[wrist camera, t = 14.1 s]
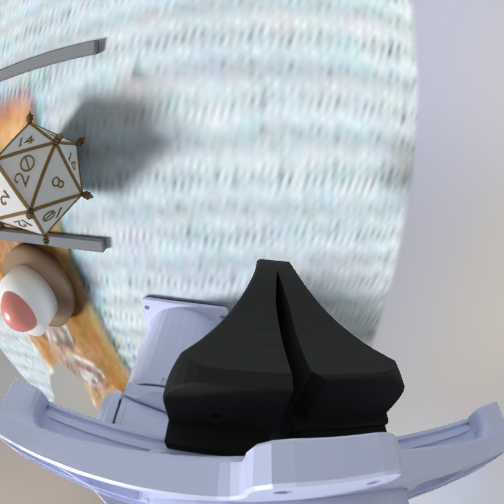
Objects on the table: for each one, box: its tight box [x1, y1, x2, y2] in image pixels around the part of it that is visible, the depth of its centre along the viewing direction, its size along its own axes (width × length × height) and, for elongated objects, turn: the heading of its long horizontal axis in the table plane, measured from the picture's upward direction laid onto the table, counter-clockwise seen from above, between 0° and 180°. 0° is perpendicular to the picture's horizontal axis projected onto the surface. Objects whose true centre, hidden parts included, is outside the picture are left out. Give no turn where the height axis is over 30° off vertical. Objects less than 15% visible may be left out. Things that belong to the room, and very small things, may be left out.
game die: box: [0, 111, 94, 247], centre depth 15 cm, size 9×8×10 cm
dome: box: [0, 265, 58, 336], centre depth 22 cm, size 7×7×5 cm
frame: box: [0, 41, 106, 252], centre depth 18 cm, size 17×15×1 cm
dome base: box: [3, 244, 76, 327], centre depth 25 cm, size 10×10×2 cm
